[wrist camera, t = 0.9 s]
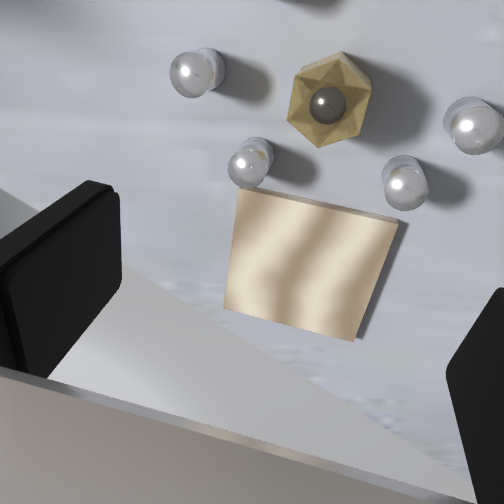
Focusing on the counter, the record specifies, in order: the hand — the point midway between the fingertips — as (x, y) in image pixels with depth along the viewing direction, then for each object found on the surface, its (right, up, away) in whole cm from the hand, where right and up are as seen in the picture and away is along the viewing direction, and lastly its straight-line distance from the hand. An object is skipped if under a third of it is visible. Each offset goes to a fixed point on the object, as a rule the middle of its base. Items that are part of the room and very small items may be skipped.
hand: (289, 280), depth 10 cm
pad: (+4, -1, +29) cm, 29 cm away
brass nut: (+5, +13, +21) cm, 25 cm away
